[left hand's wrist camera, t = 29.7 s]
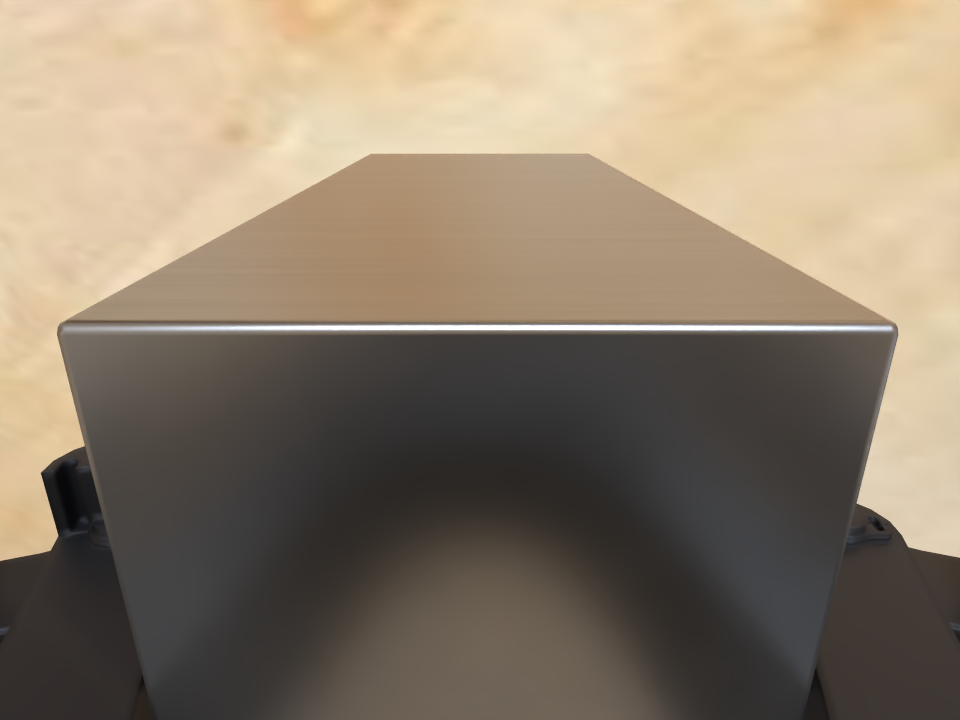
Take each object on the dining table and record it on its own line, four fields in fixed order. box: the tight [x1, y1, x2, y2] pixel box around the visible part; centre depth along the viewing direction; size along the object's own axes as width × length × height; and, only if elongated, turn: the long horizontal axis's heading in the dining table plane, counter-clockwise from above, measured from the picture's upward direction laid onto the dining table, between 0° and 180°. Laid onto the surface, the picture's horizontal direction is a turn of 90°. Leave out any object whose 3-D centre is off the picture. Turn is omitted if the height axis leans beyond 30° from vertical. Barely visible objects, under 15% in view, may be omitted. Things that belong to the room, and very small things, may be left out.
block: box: [57, 154, 898, 720], centre depth 11 cm, size 8×5×12 cm, turn 0°
